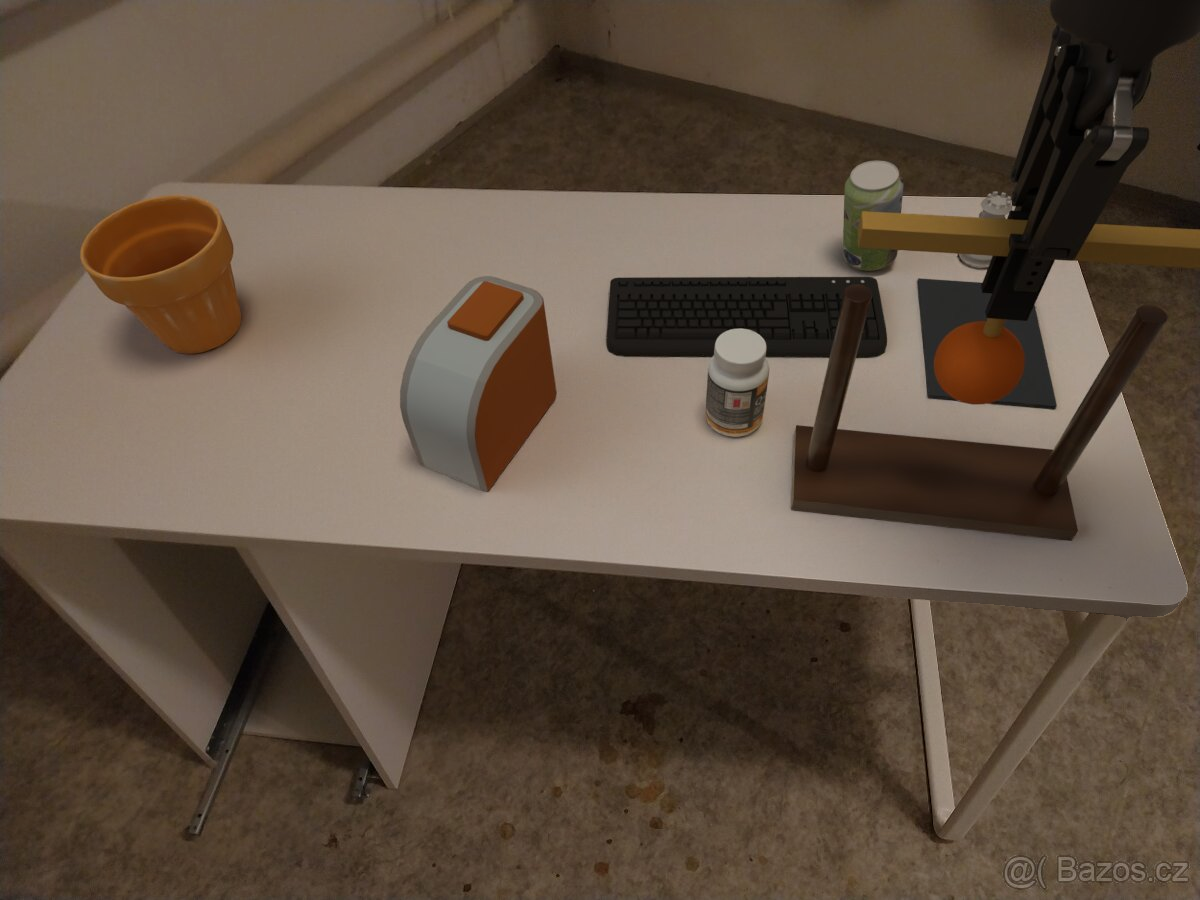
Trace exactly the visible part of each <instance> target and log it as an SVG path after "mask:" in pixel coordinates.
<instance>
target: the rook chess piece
mask: <svg viewBox="0 0 1200 900" xmlns="http://www.w3.org/2000/svg"><path fill="white" fill-rule="evenodd" d="M998 194H999V192H998V191H992V193H990V192H989V193H988V194H987V195H986V197H985V198H983V199H982V200H981V202H980V207H981V209H982V211H980V213H979V214H978V218H995V219H1007V217H1006V215H1009V212H1010V210H1011V211H1013V206H1012V201H1011V195H1008V196H1007V193H1006V192H1004V191H1003V192H1001V194H1000V195H998ZM958 256H959V258H960V260H961V262H962V263H964V264H965V265H967V266H968V267H972V268H975V269H986V268H987V269H988V267H989V264H990V262H991V259H992V257H993V256H989V255H973V254H958Z"/></svg>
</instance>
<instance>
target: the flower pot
mask: <svg viewBox="0 0 1200 900" xmlns="http://www.w3.org/2000/svg"><path fill="white" fill-rule="evenodd" d="M233 243H234V242H233V240H232V237H231V234H230V232H229V229H228V227H227V225H226V223H225V221H224V218H223V216H222V214H221V212H220V211H219V209H218V208H217V206H215V205H214V204H212V203H211V202H210V201H208V200H206V199H204V198H200V197H198V196H197V197H196V196H192V195H183V194H171V195H162V196H156V197H151V198H146V199H143V200H140V201H137V202H134V203H131V204H129V205H126V206H124V207H122V208H120V209H118V210H116V211H114V212H113V213H111V214H109V215H108V216H106V217H105V218H103V219H102V220H101V221H99V222H98V223H97V224H96V225H95V226H94V227H93V228H92V229H91V230H90V231H89V232H88V234H87V235H86V237H85V238H84V240H83V241H82V244H81V247H80V253H79V258H80V262H81V264H82V266H83V268H84V269H85V271H86V272H87V274H88V276H89V277H90V278H91V280H92V282H93V283H94V284H95V285H96V287H97V288H98V289H99V290H100V292H101V293H102V294H103V295H104V297H106V298H107V299H109V300H110V301H112V302H114V303H117V304H119V305H122V306H125V307H126V308H127V309H128V310H129V311H130V312H131V314H133V315H134V316H135V317H136V318H137V319H138V320H139V321H140V322H141V324H142V325H144V326H145V328H147V329H148V330H149V331H150V332H151V333H152V334H153V335H154V336H155V337H156V338H157V339H158V340H159V341H160V342H161V343H163V344H164V345H165V346H166V347H167V348H168V349H170V350H172V351H173V352H176V353H180V354H186V355H187V354H188V355H190V354H191V355H192V354H200V353H204V352H208V351H210V350H212V349H215V348H219V347H220V346H222V345H223V344H225V343H227V342H228V341H229V340H230V339H232V337H233V336H235V335H236V333H237V332H238V330H239V329H240V326H241V324H242V313H241V306H240V302H239V297H238V291H237V287H236V286H237V285H236V282H235V278H234V274H233V273H234V272H233V269H232V263H231V262H232V260H233V257H234V252H235V251H234V250H235V249H234V244H233Z"/></svg>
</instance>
